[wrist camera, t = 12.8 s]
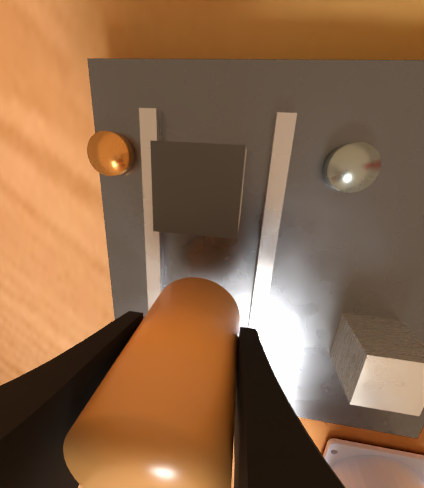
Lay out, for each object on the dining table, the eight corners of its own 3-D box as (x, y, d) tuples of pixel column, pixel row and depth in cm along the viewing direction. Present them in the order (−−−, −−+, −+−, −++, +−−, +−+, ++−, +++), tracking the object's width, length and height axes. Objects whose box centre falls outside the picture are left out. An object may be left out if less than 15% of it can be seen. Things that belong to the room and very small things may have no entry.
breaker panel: (398, 407, 17) (455, 502, 12) (134, 363, 19) (97, 427, 15) (549, 79, 10) (805, 10, 5) (111, 73, 13) (30, 22, 8)
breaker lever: (240, 214, 12) (236, 239, 8) (182, 209, 12) (153, 231, 8) (246, 150, 11) (245, 145, 7) (183, 147, 11) (150, 140, 7)
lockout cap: (236, 355, 11) (224, 541, 6) (157, 343, 12) (75, 505, 6) (244, 282, 10) (238, 435, 5) (154, 272, 11) (49, 398, 5)
